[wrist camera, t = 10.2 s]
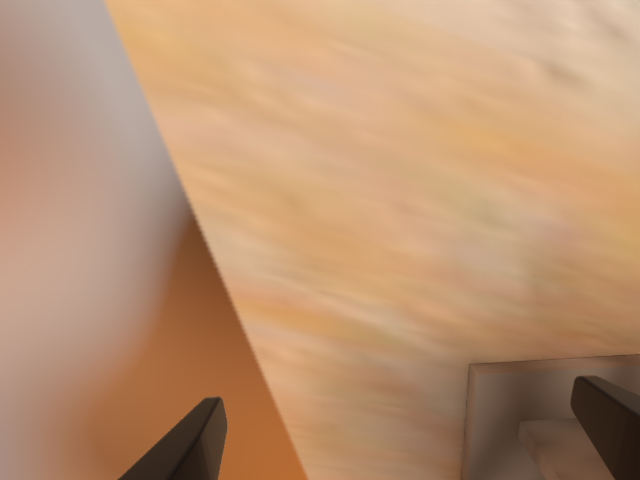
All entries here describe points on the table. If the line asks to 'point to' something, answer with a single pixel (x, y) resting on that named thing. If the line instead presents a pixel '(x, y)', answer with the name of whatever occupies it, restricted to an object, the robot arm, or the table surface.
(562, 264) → the table surface
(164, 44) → the table surface
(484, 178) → the table surface
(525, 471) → the rack
